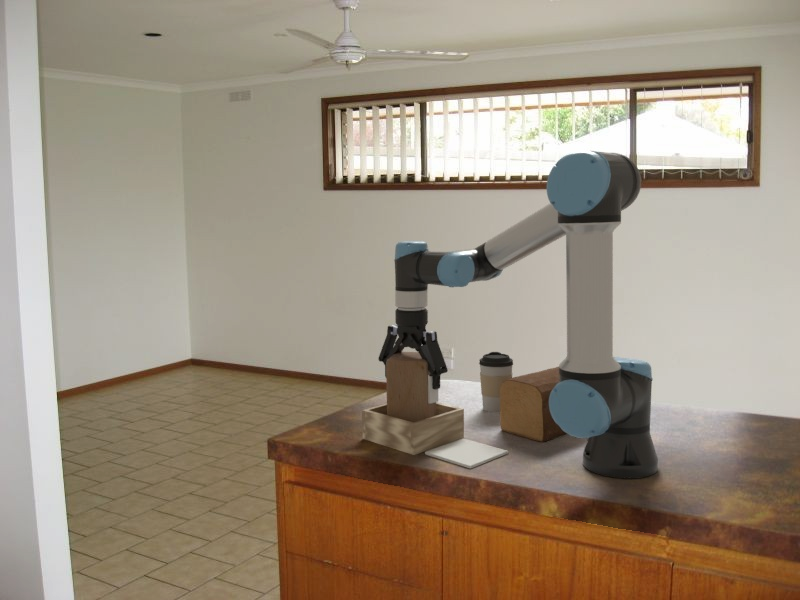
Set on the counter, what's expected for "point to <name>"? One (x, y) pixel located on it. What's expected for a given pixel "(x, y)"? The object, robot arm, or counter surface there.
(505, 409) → the bread
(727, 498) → the counter surface
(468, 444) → the grey mat
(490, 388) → the coffee cup
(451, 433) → the birch frame
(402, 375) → the wooden block
